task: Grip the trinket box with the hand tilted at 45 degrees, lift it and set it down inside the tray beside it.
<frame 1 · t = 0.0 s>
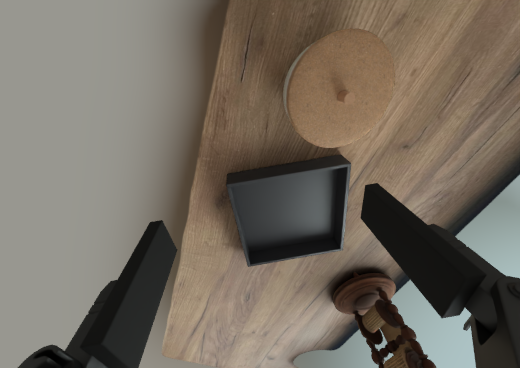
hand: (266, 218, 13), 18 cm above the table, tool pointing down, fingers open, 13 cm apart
tray: (288, 209, 36), on the table
scroll: (358, 286, 51), on the table
trinket box: (315, 88, 27), on the table
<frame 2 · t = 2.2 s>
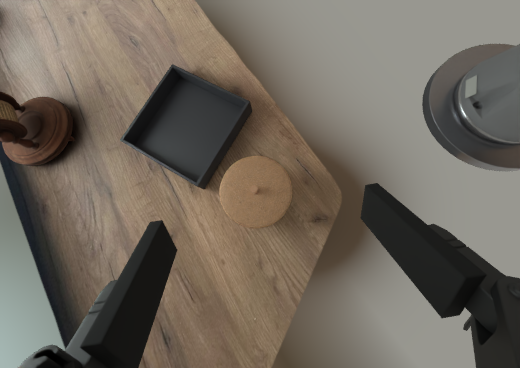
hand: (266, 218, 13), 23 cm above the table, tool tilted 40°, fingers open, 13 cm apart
tray: (191, 129, 41), on the table
scroll: (49, 135, 44), on the table
trinket box: (260, 197, 37), on the table
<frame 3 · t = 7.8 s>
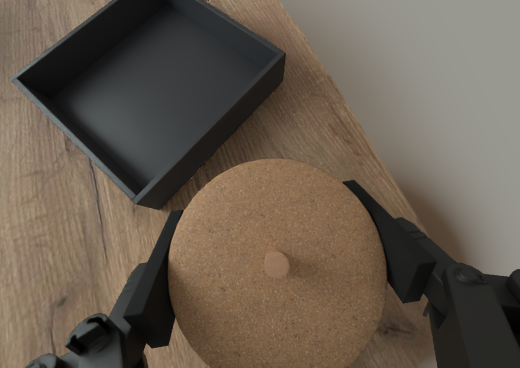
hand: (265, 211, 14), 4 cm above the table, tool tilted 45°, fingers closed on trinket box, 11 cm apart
tray: (164, 91, 22), on the table
trinket box: (271, 249, 17), on the table, touching gripper
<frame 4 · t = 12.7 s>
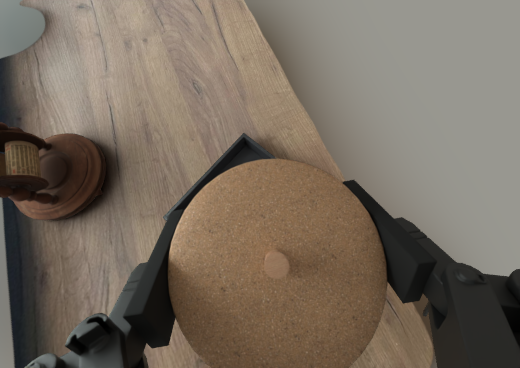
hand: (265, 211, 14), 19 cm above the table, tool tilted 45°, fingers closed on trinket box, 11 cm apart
tray: (250, 213, 33), on the table
scroll: (72, 178, 36), on the table
trinket box: (271, 250, 17), point 15 cm above the table, touching gripper
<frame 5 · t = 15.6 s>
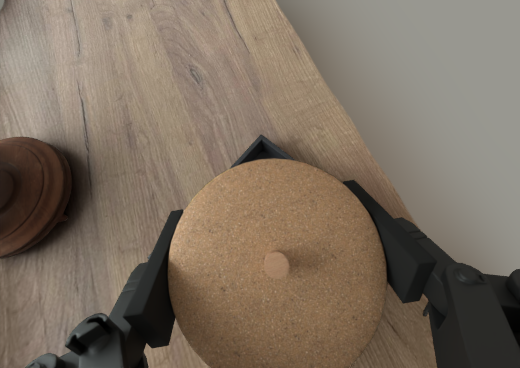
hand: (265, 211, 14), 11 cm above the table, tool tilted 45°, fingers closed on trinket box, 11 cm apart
tray: (270, 246, 24), on the table
scroll: (27, 197, 27), on the table
trinket box: (271, 250, 17), point 6 cm above the table, touching gripper
when the fingers open (5 cm above the table, at t = 17.9 s): trinket box stays where it is, resting on tray.
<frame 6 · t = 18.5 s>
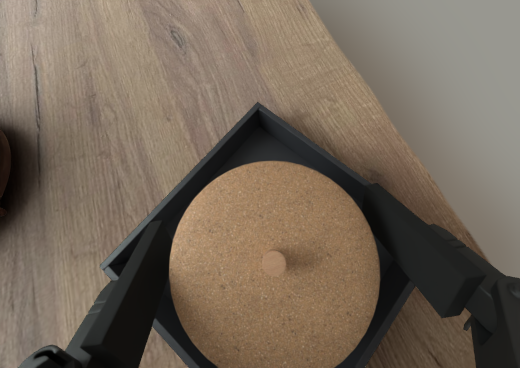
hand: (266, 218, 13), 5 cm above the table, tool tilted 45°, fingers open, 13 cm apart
tray: (270, 249, 18), on the table
trinket box: (270, 249, 18), resting on tray
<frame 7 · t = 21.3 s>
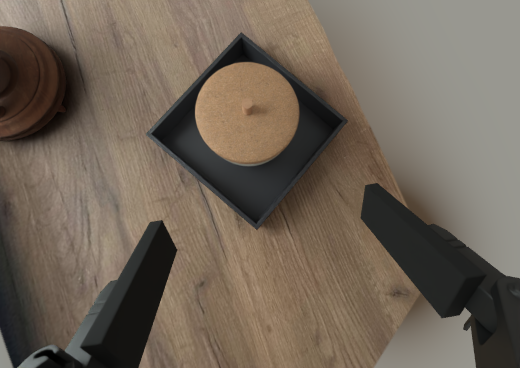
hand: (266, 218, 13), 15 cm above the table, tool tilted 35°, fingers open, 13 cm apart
tray: (249, 135, 29), on the table
scroll: (22, 92, 28), on the table
trinket box: (249, 135, 29), resting on tray
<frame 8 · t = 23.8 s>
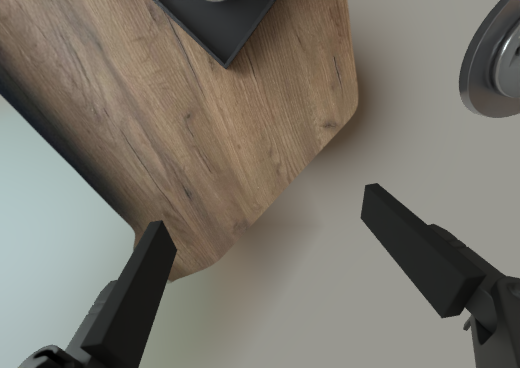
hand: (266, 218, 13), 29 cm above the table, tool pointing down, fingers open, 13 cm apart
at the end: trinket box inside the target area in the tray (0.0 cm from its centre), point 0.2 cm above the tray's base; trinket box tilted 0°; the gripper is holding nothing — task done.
